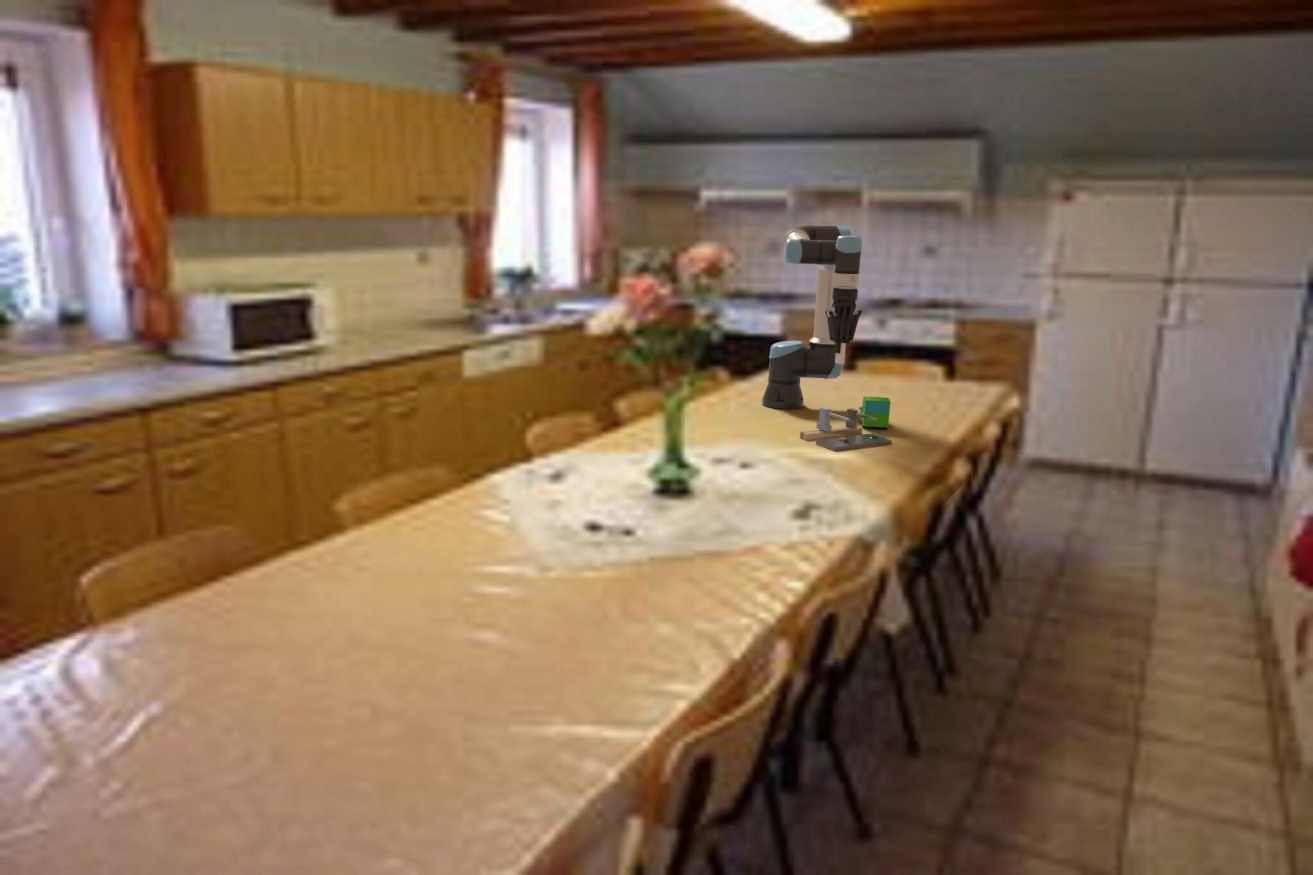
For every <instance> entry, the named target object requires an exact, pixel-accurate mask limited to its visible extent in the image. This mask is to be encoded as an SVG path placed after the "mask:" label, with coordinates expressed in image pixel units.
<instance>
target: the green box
mask: <svg viewBox="0 0 1313 875" xmlns="http://www.w3.org/2000/svg"><path fill="white" fill-rule="evenodd" d="M862 399H863V400H862V407H859V406H858V407H859V408H858V409H859V410H860V412H859V413H861V414H864V415H867V416H870V417H873V418H877V419H878V420H877V421H872V420H869V419H866V418H863V417H860V416H859V419H860V420H859V422H860V423H861V424H862V429H867V427H872V428H873V427H874V428H882V429H883V428H884V429H883V430H887V429H888V428H889V422H890V412H891V400H890V398H889V397H880V396H863V397H862Z"/></svg>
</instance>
